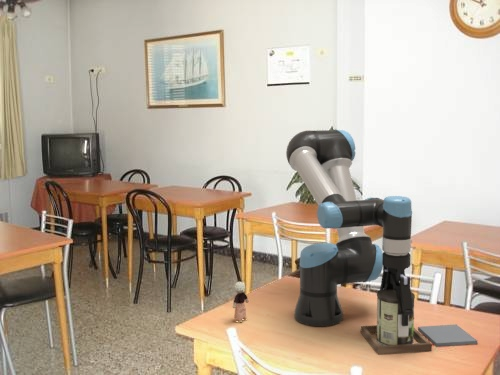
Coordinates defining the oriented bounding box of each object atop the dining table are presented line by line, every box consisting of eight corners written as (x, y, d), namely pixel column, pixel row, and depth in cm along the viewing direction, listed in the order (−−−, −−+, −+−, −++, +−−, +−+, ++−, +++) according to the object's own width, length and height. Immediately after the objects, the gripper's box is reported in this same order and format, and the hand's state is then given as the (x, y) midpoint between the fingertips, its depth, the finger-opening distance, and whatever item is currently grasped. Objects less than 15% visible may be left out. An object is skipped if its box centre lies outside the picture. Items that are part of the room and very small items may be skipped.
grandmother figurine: (239, 316, 175) (239, 278, 173) (250, 317, 173) (250, 279, 172) (229, 324, 168) (228, 285, 166) (240, 326, 166) (239, 286, 165)
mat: (418, 329, 161) (418, 326, 161) (456, 327, 163) (456, 324, 163) (436, 346, 150) (436, 343, 149) (477, 344, 151) (477, 340, 151)
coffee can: (411, 335, 157) (413, 288, 156) (415, 350, 147) (416, 300, 146) (375, 333, 159) (376, 287, 158) (376, 348, 149) (377, 298, 148)
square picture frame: (360, 332, 160) (360, 326, 160) (409, 329, 162) (409, 323, 161) (378, 354, 145) (378, 347, 145) (431, 351, 147) (431, 344, 147)
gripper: (427, 262, 139) (425, 344, 142) (393, 242, 162) (392, 312, 165) (399, 264, 138) (398, 345, 141) (369, 243, 161) (368, 313, 164)
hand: (394, 327), depth 153 cm, fingers open, 11 cm apart
